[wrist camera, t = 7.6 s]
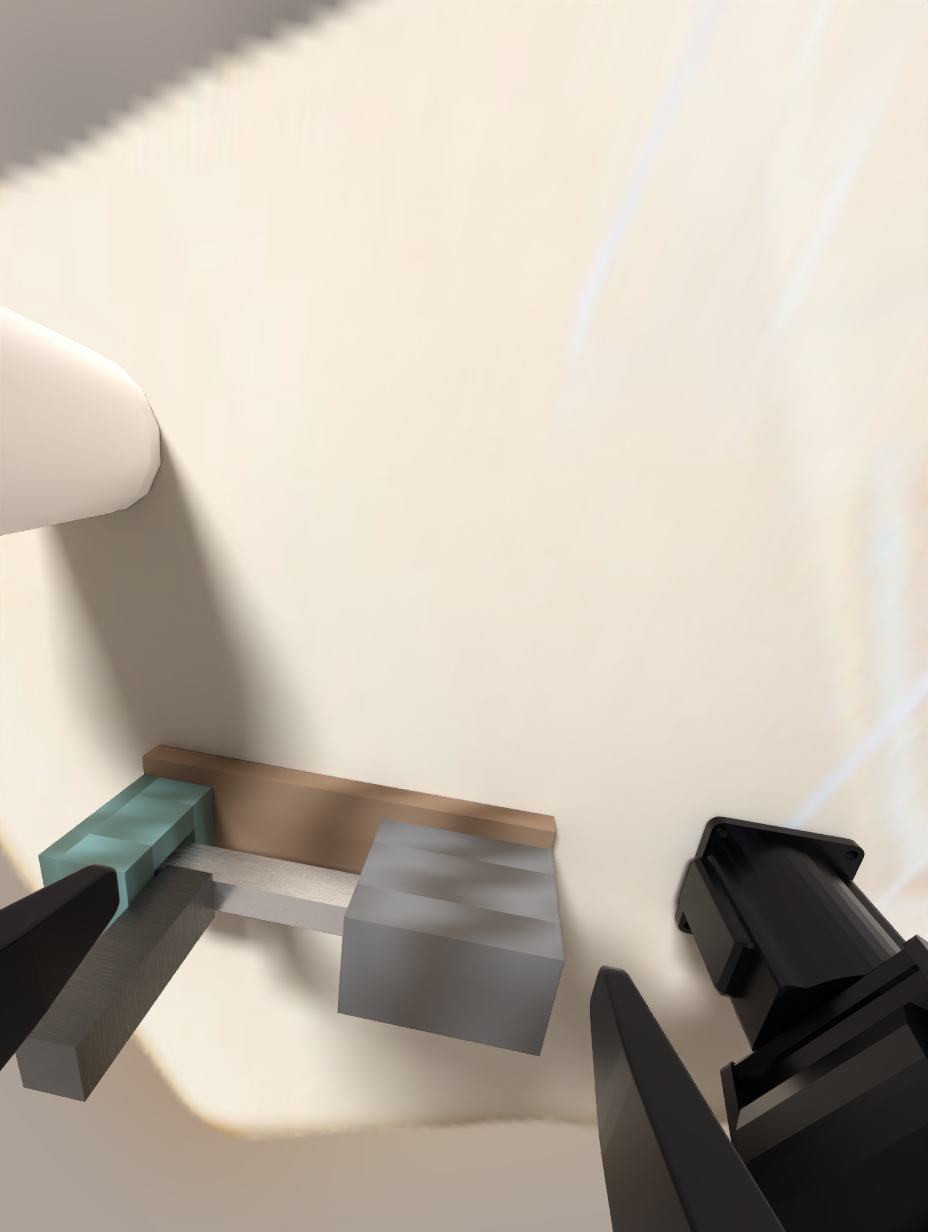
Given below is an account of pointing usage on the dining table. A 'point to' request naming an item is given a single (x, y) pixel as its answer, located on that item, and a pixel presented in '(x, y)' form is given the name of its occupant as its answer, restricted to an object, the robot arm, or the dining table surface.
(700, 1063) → the dining table surface
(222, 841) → the wooden long base
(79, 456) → the foam cup
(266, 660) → the dining table surface
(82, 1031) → the angled grey metal bar
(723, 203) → the dining table surface
